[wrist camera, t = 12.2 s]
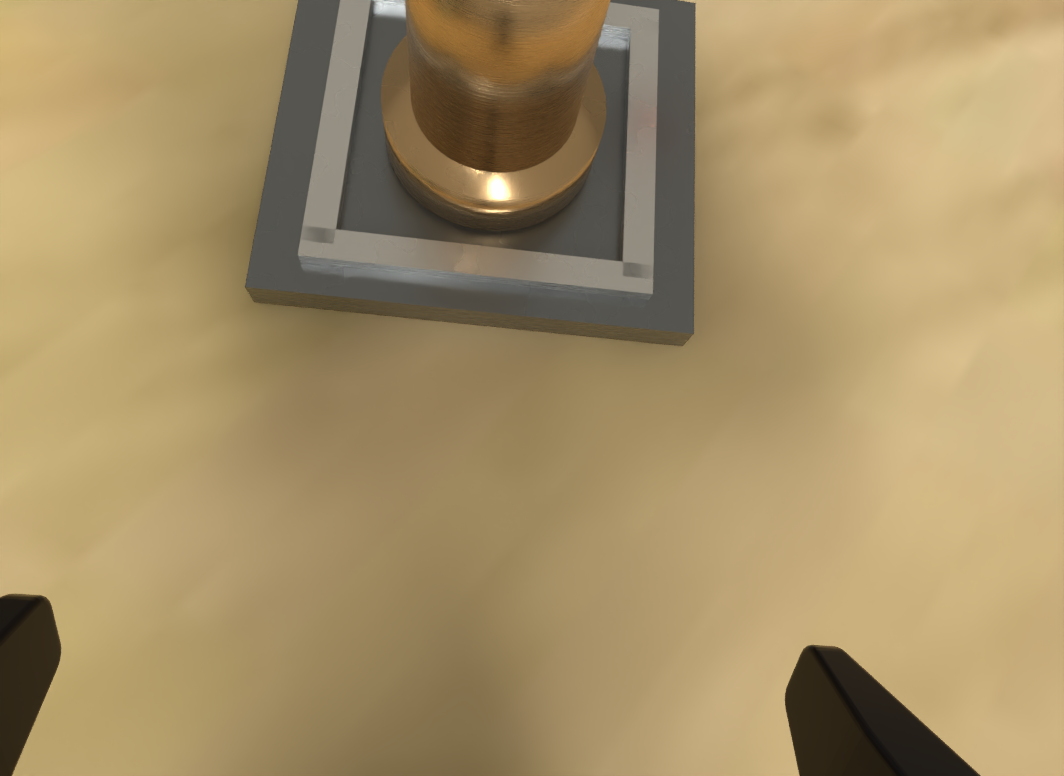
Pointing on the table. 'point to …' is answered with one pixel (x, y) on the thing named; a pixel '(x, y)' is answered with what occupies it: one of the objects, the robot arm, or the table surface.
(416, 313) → the press bed
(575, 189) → the amber cylindrical piece
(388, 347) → the table surface
